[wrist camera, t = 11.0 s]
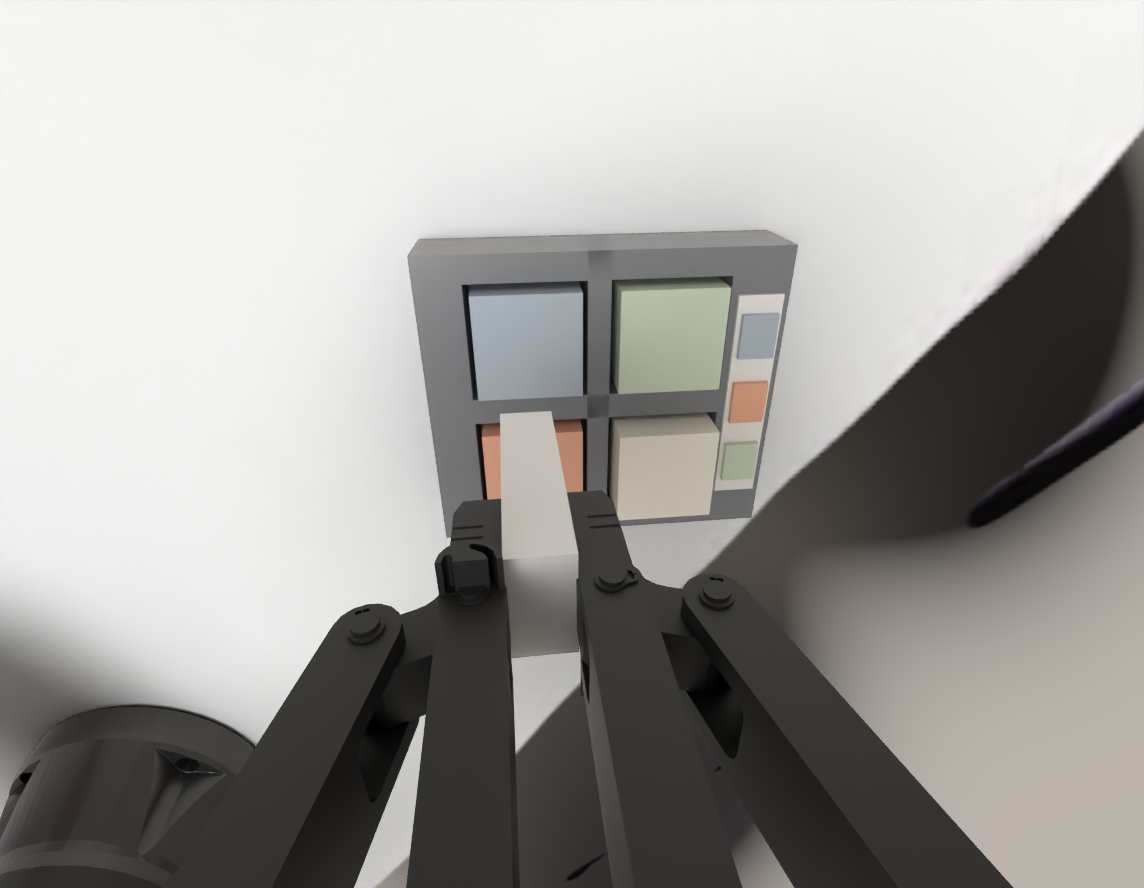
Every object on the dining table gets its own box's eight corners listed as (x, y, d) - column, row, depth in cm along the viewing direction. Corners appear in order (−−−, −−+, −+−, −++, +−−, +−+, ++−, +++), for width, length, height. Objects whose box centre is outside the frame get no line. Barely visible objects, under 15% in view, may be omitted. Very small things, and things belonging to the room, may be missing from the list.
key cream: (692, 481, 32) (709, 514, 29) (607, 486, 32) (617, 520, 29) (701, 404, 30) (719, 432, 27) (609, 408, 29) (620, 437, 27)
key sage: (700, 364, 30) (718, 389, 27) (608, 368, 29) (618, 394, 27) (709, 270, 27) (731, 287, 25) (610, 273, 27) (621, 291, 24)
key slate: (575, 370, 29) (582, 395, 26) (480, 374, 29) (478, 401, 26) (575, 274, 27) (582, 292, 24) (472, 278, 26) (468, 296, 24)
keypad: (729, 481, 35) (754, 522, 31) (452, 498, 33) (445, 544, 30) (766, 230, 28) (803, 247, 24) (418, 239, 27) (405, 258, 23)
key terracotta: (576, 480, 32) (582, 513, 30) (490, 485, 32) (489, 519, 29) (575, 403, 30) (582, 431, 27) (483, 408, 30) (481, 436, 27)
